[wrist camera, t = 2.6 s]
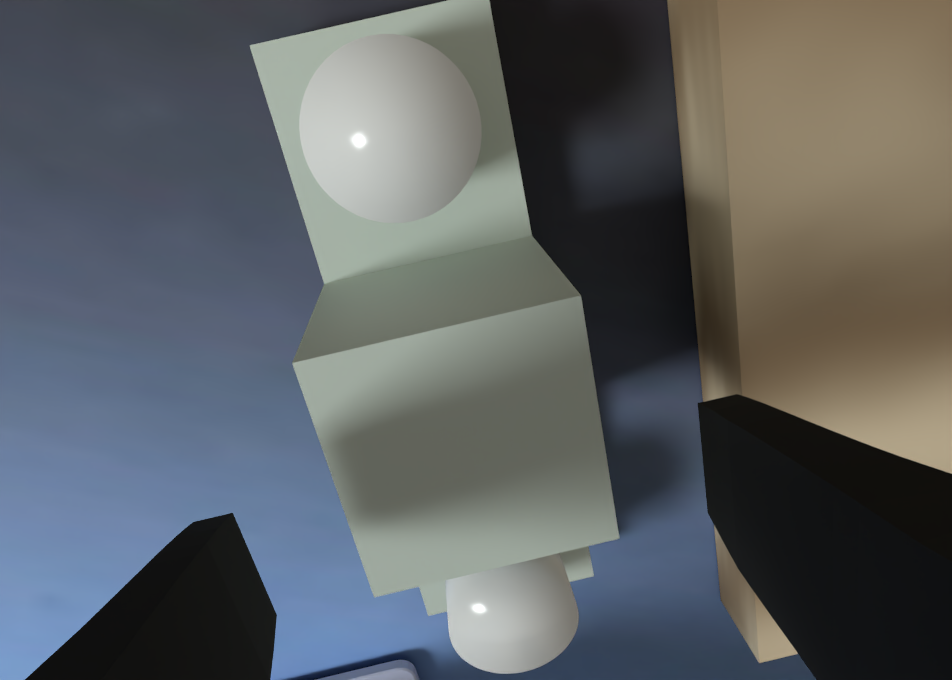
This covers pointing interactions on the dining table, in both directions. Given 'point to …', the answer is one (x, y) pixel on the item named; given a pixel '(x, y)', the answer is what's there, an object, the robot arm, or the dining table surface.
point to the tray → (441, 331)
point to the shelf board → (820, 223)
